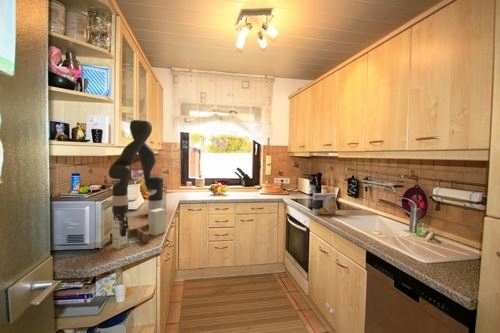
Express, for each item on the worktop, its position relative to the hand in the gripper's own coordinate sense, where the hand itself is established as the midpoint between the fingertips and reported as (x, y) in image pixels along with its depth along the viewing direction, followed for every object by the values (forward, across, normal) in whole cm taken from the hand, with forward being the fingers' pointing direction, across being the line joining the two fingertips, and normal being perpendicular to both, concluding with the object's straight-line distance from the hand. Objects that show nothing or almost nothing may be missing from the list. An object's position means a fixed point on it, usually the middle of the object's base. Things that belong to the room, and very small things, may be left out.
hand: (120, 234), depth 138 cm
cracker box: (+7, +57, -47) cm, 74 cm away
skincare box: (+7, +8, -24) cm, 27 cm away
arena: (+6, +3, -5) cm, 9 cm away
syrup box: (+7, 0, 0) cm, 7 cm away
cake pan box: (+7, -34, -149) cm, 153 cm away
